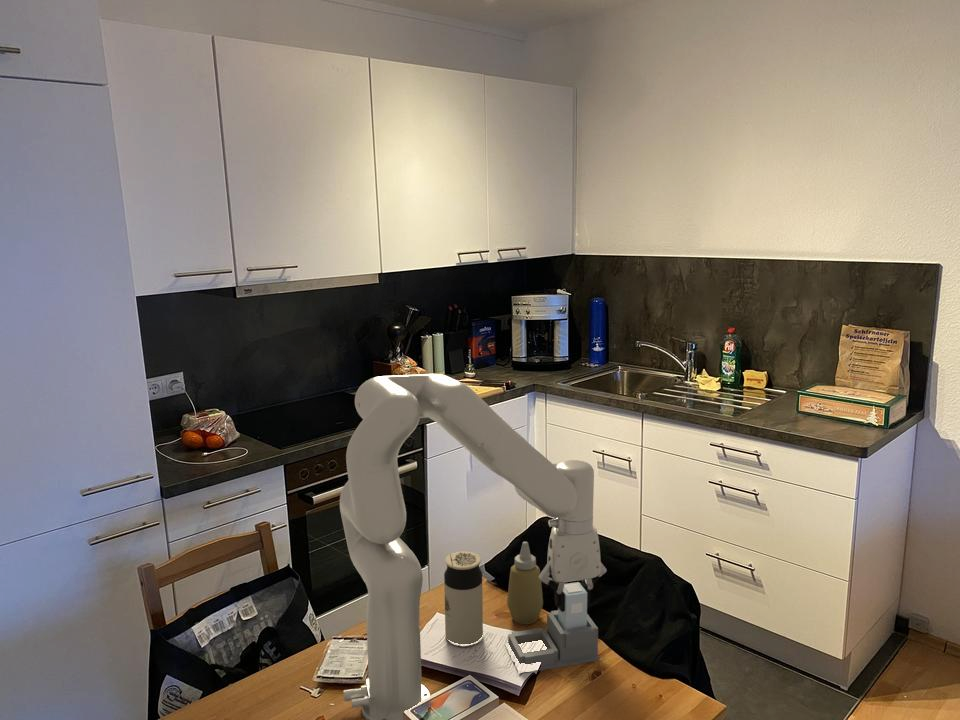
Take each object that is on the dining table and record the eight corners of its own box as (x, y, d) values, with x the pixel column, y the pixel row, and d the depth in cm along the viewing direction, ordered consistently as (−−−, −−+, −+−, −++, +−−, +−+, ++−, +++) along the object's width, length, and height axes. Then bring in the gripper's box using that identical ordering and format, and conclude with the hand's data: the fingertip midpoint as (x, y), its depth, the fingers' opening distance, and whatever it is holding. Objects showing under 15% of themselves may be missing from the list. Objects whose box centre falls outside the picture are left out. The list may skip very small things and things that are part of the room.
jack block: (518, 674, 139) (518, 644, 138) (504, 645, 149) (504, 616, 147) (599, 660, 143) (600, 631, 142) (580, 633, 153) (580, 605, 152)
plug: (565, 641, 144) (566, 595, 142) (557, 629, 148) (558, 584, 146) (586, 638, 145) (587, 592, 143) (577, 625, 149) (578, 581, 147)
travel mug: (483, 626, 155) (482, 550, 152) (482, 648, 148) (481, 568, 144) (446, 626, 156) (445, 550, 152) (444, 648, 148) (442, 568, 144)
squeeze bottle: (500, 613, 161) (500, 539, 157) (532, 605, 164) (532, 532, 161) (517, 631, 154) (517, 554, 150) (549, 622, 157) (550, 546, 153)
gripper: (539, 535, 136) (539, 622, 140) (621, 525, 140) (618, 610, 144) (527, 520, 143) (527, 602, 147) (605, 510, 147) (603, 591, 151)
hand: (572, 605), depth 145 cm, fingers closed on plug, 4 cm apart
